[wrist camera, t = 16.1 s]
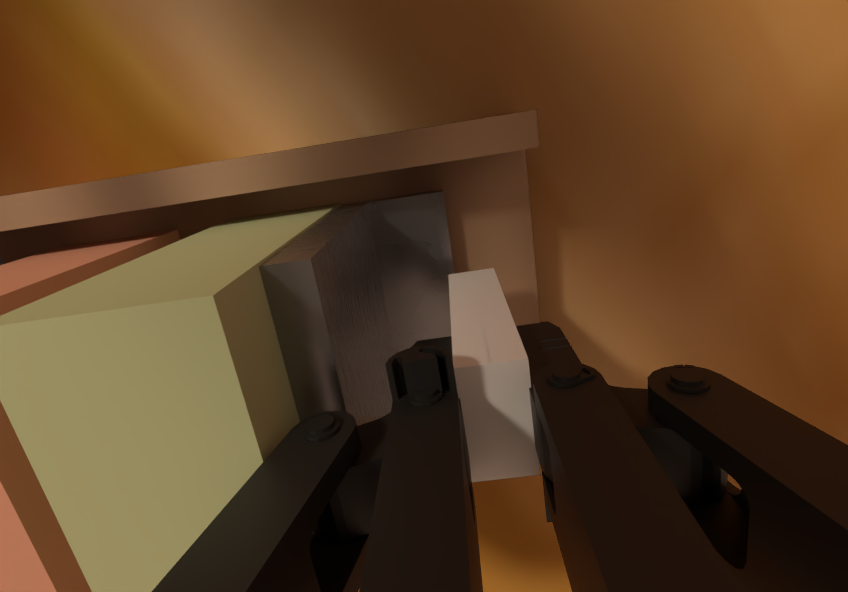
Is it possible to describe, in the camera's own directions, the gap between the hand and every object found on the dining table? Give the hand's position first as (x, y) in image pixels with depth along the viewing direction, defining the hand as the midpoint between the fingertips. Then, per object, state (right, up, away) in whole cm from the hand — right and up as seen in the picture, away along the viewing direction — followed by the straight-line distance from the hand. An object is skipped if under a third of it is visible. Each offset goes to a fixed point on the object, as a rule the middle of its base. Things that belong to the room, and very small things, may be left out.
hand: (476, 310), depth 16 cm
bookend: (-2, 0, +2) cm, 3 cm away
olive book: (-6, 0, +2) cm, 6 cm away
